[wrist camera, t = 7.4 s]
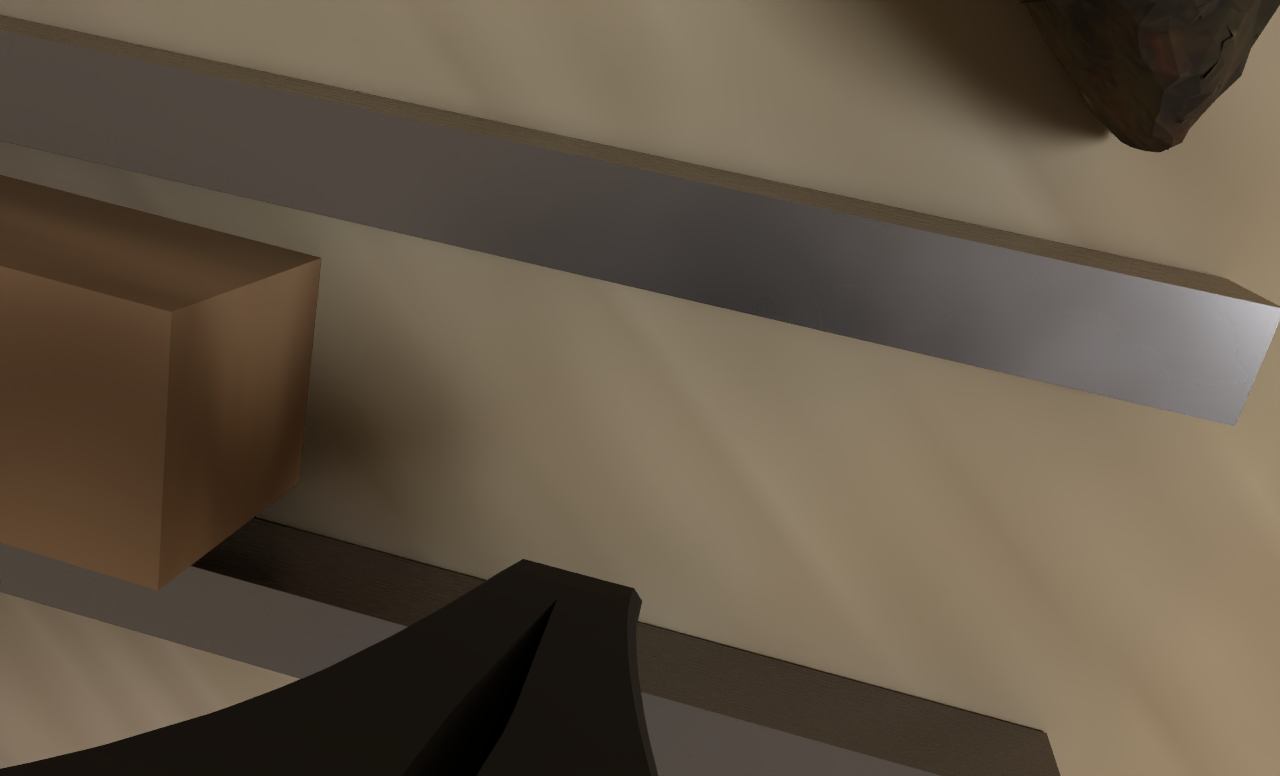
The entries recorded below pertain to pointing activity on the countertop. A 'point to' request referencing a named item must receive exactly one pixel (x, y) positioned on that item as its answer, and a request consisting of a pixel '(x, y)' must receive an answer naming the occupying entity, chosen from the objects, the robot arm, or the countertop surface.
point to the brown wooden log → (1151, 58)
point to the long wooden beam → (143, 382)
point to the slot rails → (638, 257)
